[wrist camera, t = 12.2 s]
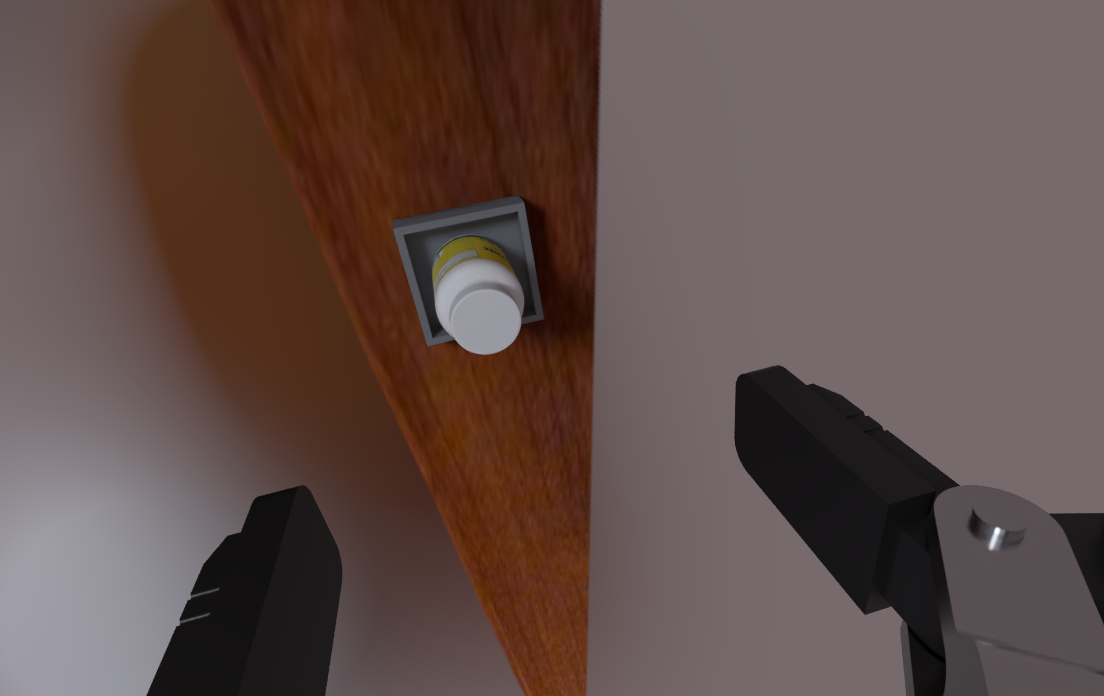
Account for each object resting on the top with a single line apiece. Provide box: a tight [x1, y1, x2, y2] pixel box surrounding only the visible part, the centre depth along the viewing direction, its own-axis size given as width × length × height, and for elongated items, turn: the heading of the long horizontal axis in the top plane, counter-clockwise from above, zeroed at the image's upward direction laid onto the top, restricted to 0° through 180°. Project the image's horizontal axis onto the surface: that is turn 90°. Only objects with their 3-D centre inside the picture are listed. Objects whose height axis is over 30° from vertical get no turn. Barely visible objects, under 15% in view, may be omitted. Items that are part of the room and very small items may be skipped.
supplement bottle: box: [432, 234, 524, 354], centre depth 34 cm, size 5×5×10 cm
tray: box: [393, 195, 544, 346], centre depth 38 cm, size 9×9×2 cm
